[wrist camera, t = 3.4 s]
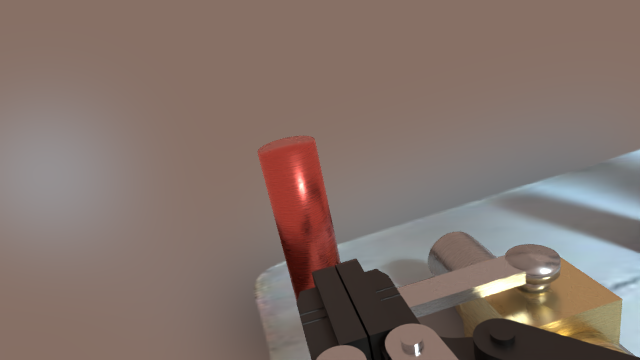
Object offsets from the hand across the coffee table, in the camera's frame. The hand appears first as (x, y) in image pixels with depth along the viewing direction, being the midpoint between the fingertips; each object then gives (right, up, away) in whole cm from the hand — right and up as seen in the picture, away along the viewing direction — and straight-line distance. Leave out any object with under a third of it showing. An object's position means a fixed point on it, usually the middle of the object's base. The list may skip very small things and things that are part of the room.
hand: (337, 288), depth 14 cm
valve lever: (+6, -3, +10) cm, 12 cm away
